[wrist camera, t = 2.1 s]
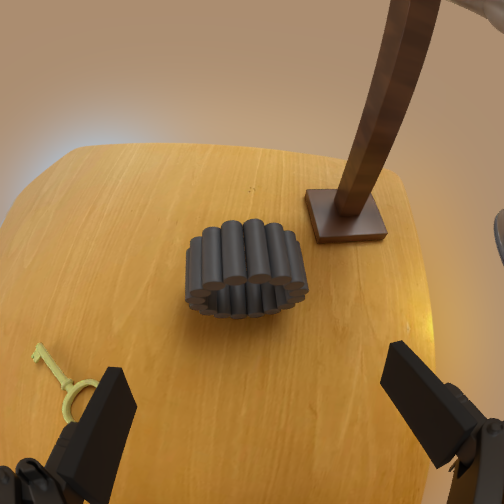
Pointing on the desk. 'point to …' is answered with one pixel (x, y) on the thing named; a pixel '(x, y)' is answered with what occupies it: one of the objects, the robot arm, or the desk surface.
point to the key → (62, 380)
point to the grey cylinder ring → (244, 270)
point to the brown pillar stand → (383, 119)
